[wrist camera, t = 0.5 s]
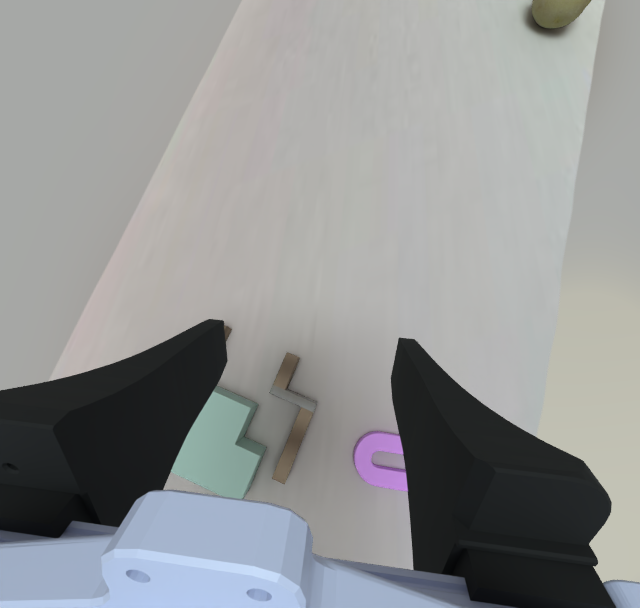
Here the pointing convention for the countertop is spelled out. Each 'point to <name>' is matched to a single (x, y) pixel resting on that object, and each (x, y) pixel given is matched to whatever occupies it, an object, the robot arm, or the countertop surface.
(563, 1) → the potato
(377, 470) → the bracket
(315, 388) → the countertop surface
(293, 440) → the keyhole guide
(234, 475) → the t slider
